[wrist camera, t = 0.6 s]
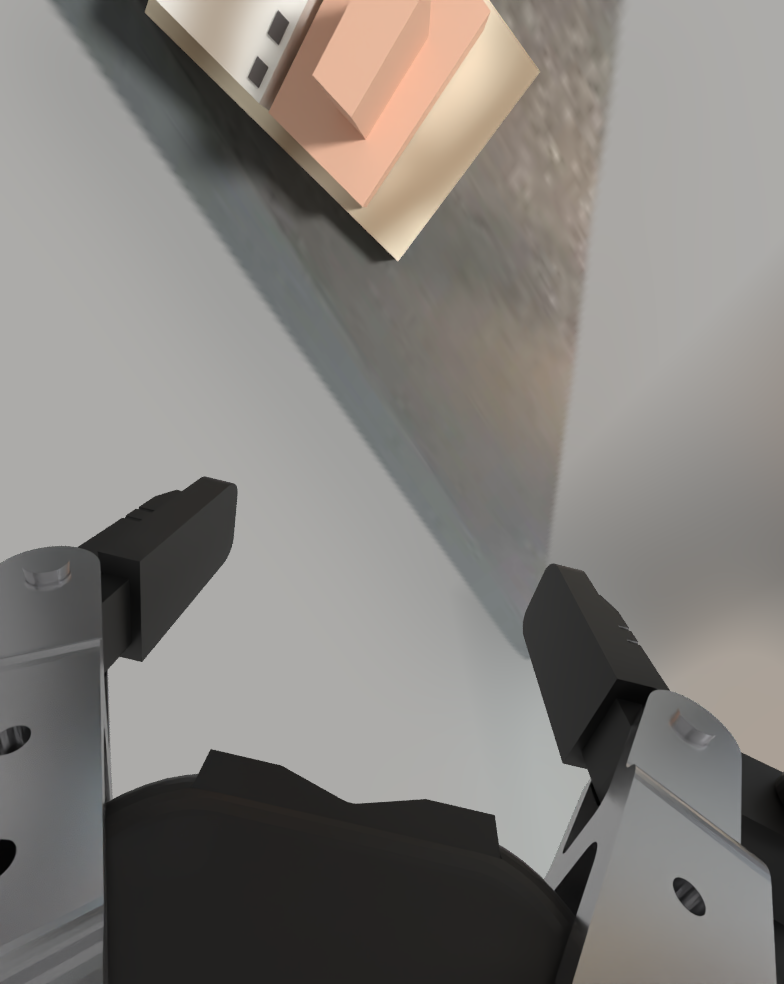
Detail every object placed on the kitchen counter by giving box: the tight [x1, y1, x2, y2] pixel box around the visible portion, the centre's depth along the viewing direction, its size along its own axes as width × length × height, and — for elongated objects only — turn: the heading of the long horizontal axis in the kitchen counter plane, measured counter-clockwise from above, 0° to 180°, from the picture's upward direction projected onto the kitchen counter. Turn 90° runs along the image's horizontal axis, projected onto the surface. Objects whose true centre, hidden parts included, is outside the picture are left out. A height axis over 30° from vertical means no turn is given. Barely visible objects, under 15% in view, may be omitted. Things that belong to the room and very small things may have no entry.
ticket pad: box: [145, 0, 540, 261], centre depth 22 cm, size 18×12×5 cm, turn 50°
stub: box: [268, 0, 491, 207], centre depth 19 cm, size 6×10×8 cm, turn 140°
